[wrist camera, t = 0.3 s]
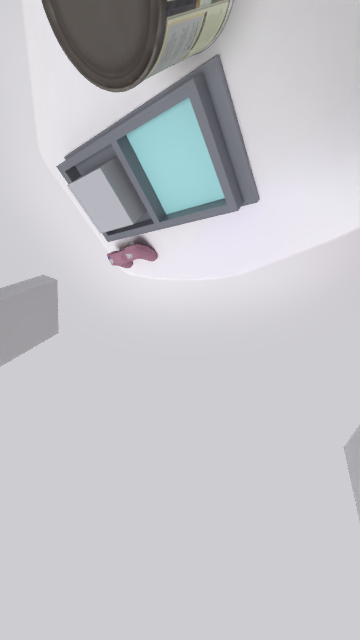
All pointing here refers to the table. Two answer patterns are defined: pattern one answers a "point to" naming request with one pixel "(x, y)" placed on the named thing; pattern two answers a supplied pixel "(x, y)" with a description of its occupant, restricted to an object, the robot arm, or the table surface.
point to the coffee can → (133, 35)
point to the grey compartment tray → (165, 161)
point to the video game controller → (131, 255)
